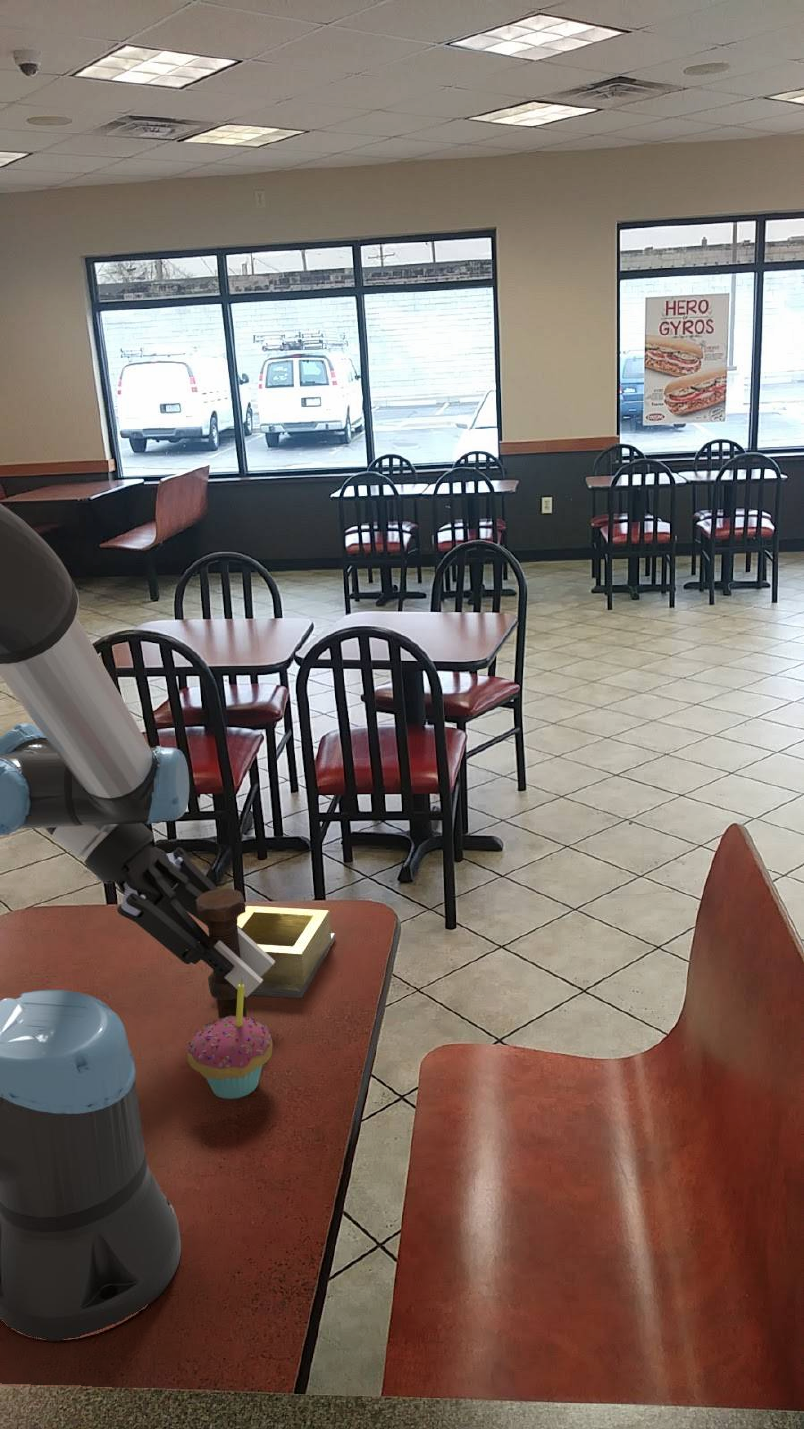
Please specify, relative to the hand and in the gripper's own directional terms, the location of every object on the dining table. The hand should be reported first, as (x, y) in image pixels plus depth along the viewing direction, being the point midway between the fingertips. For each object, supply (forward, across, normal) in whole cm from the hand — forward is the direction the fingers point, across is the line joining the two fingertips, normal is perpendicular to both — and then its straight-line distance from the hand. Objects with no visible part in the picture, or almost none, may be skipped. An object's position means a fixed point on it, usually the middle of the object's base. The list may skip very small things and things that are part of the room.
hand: (260, 978), depth 123 cm
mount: (+2, -12, -6) cm, 13 cm away
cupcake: (+5, +12, -3) cm, 13 cm away
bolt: (+1, 0, -7) cm, 7 cm away
